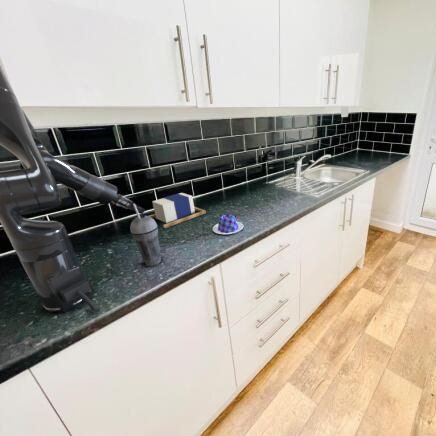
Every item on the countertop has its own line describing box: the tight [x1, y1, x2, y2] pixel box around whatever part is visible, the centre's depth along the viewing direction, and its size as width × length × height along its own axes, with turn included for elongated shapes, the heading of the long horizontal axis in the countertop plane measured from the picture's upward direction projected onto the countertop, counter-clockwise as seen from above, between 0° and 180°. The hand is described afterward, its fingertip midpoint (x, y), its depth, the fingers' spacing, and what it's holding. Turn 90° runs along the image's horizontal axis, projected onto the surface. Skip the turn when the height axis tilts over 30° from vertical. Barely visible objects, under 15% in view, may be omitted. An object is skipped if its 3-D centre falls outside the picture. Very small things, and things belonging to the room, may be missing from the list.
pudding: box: [212, 213, 245, 235], centre depth 101 cm, size 12×12×5 cm
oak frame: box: [148, 206, 207, 229], centre depth 113 cm, size 20×15×1 cm
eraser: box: [151, 192, 196, 224], centre depth 113 cm, size 14×8×8 cm, turn 145°
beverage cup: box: [130, 203, 162, 267], centre depth 77 cm, size 7×7×20 cm
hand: (142, 211), depth 101 cm, fingers closed
